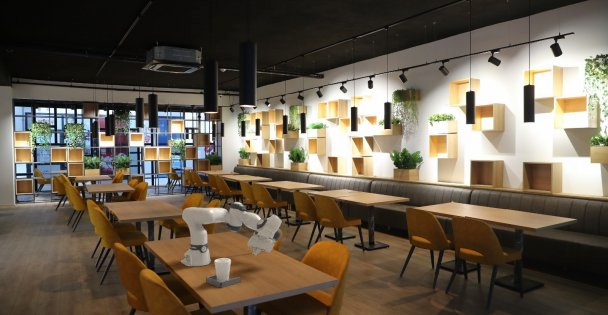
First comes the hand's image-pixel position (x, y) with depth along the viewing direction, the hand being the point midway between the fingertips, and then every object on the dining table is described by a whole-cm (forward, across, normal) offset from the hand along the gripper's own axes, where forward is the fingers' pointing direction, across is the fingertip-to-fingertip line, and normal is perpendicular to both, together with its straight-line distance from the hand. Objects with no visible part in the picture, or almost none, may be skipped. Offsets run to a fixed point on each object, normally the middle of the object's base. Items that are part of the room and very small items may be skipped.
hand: (254, 254), depth 263 cm
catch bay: (+25, +1, +8) cm, 26 cm away
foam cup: (+25, +1, +8) cm, 26 cm away
